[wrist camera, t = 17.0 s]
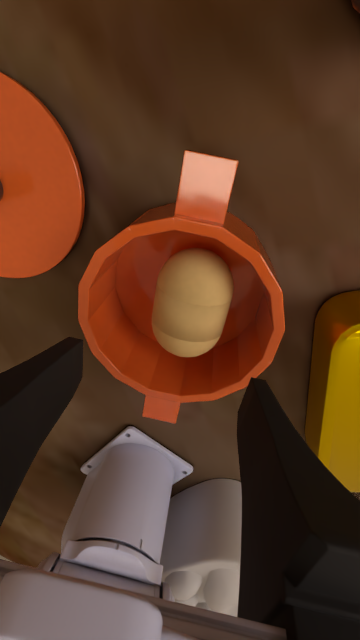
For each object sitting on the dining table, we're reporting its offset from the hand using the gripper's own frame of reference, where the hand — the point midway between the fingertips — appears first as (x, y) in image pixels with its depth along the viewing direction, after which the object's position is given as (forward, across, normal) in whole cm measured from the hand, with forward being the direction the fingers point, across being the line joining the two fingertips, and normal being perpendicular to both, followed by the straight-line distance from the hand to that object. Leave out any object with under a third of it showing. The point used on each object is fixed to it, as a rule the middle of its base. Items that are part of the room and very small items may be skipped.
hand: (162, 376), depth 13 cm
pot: (+10, 0, 0) cm, 10 cm away
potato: (+9, 0, 0) cm, 9 cm away
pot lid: (+9, +13, -4) cm, 17 cm away
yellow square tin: (+10, -18, +3) cm, 21 cm away
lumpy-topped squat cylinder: (+10, -8, +26) cm, 29 cm away
